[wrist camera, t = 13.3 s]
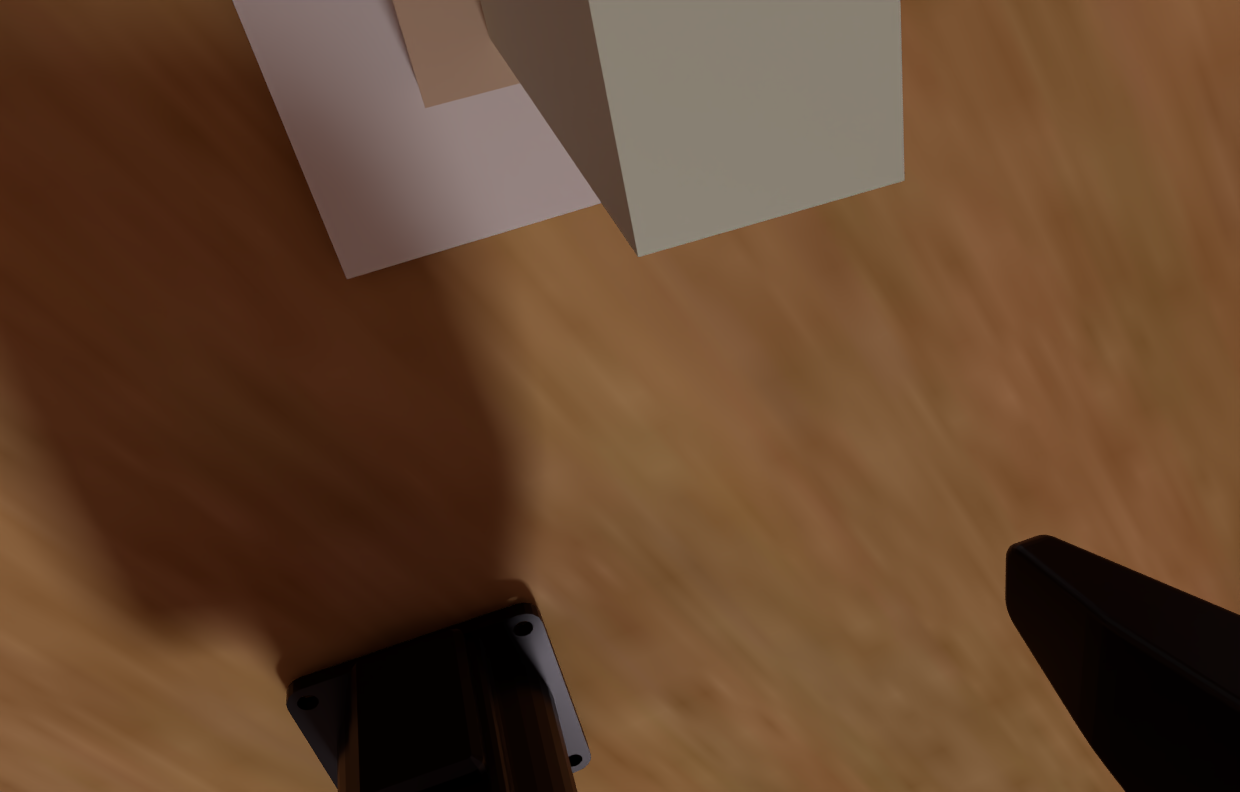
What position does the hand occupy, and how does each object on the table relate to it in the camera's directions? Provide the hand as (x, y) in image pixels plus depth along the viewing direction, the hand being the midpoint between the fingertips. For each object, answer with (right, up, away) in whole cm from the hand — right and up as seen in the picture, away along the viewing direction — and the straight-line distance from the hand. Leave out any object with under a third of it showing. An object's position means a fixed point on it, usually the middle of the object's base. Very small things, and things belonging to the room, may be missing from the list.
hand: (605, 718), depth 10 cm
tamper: (-1, +11, +6) cm, 13 cm away
